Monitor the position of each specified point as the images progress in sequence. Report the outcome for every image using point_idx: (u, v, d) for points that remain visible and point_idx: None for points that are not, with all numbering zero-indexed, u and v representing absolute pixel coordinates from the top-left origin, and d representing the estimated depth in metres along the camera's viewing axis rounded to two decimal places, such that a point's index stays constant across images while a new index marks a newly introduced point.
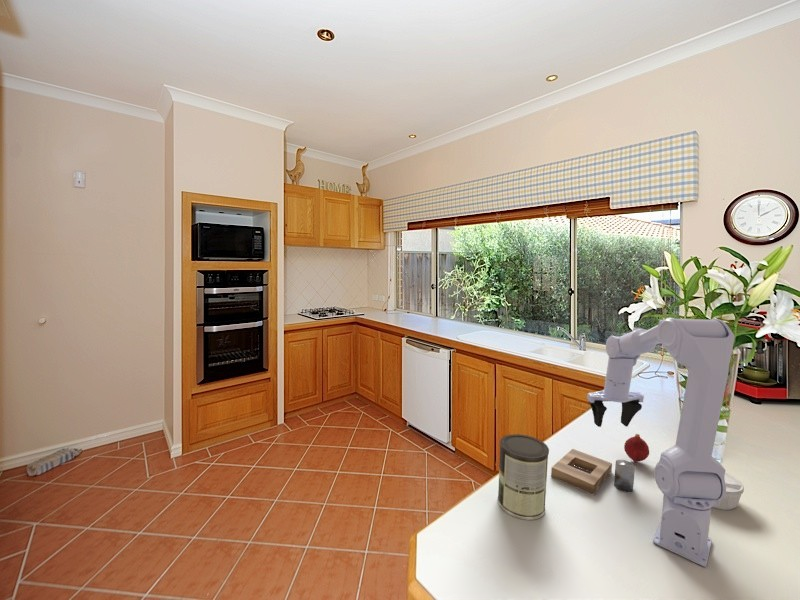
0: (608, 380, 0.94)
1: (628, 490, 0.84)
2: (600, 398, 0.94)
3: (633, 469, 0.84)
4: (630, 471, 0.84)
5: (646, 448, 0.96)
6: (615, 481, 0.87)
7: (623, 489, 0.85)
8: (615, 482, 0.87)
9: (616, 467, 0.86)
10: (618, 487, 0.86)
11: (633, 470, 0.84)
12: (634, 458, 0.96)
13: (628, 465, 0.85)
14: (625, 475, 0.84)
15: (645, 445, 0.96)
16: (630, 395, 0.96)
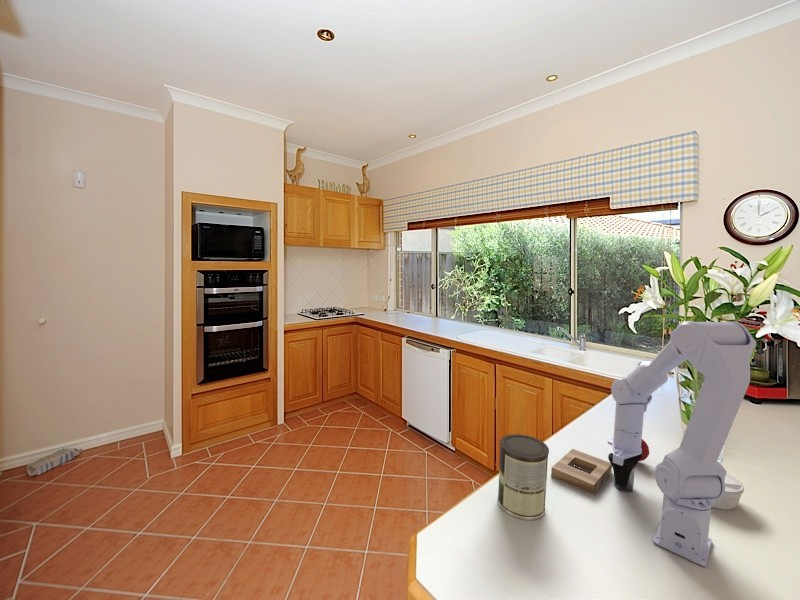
0: (626, 432, 0.83)
1: (628, 490, 0.84)
2: (627, 457, 0.81)
3: (633, 469, 0.84)
4: None
5: (646, 448, 0.96)
6: None
7: (623, 489, 0.85)
8: (615, 482, 0.87)
9: None
10: (618, 487, 0.86)
11: (633, 470, 0.84)
12: None
13: None
14: None
15: (645, 445, 0.96)
16: None
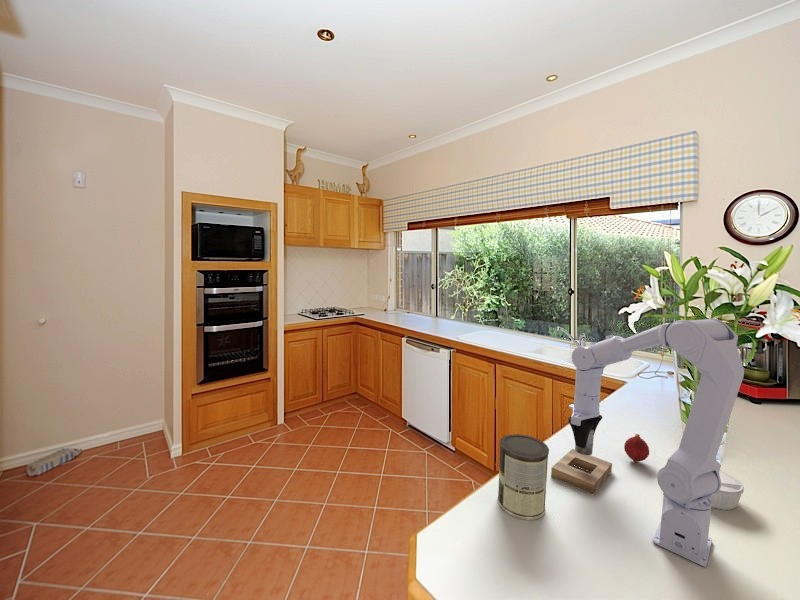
0: (584, 396, 0.88)
1: (587, 453, 0.89)
2: (584, 418, 0.86)
3: (592, 433, 0.89)
4: (589, 435, 0.89)
5: (646, 448, 0.96)
6: None
7: (583, 452, 0.89)
8: (576, 446, 0.91)
9: None
10: (578, 451, 0.90)
11: (592, 434, 0.89)
12: (634, 458, 0.96)
13: None
14: None
15: (645, 445, 0.96)
16: None
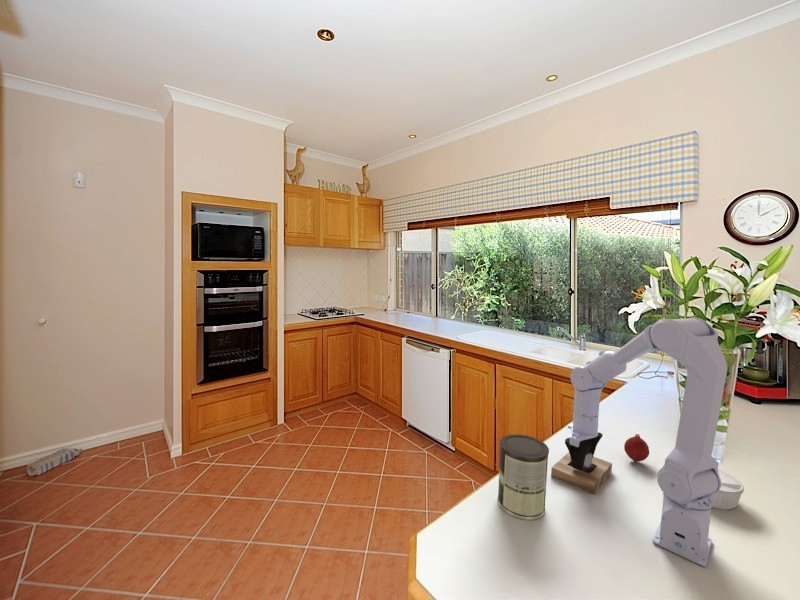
0: (583, 416, 0.88)
1: None
2: (583, 439, 0.86)
3: (590, 457, 0.89)
4: (588, 459, 0.89)
5: (646, 448, 0.96)
6: None
7: None
8: None
9: None
10: None
11: (590, 458, 0.89)
12: (634, 458, 0.96)
13: None
14: None
15: (645, 445, 0.96)
16: None
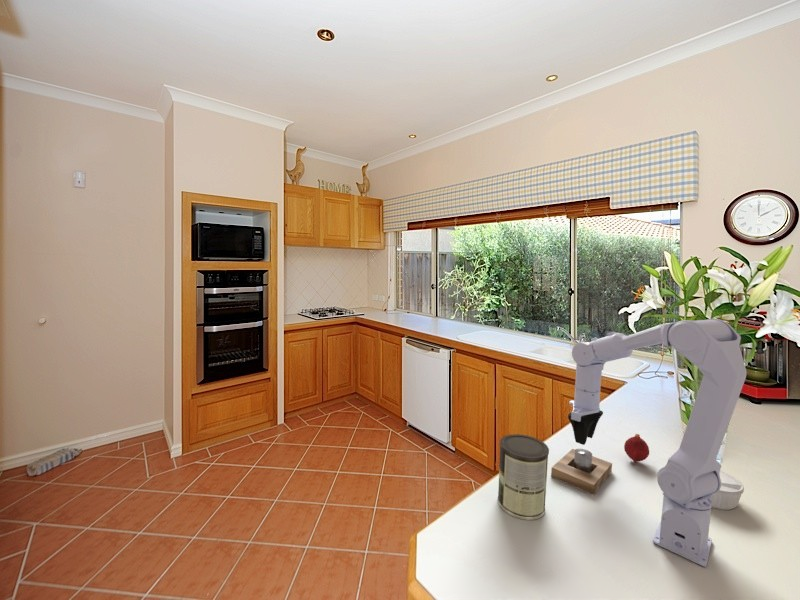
0: (584, 391, 0.87)
1: None
2: (585, 413, 0.86)
3: (590, 457, 0.89)
4: (588, 459, 0.89)
5: (646, 448, 0.96)
6: None
7: None
8: None
9: (575, 455, 0.91)
10: None
11: (590, 458, 0.89)
12: (634, 458, 0.96)
13: (586, 453, 0.91)
14: (583, 462, 0.89)
15: (645, 445, 0.96)
16: None
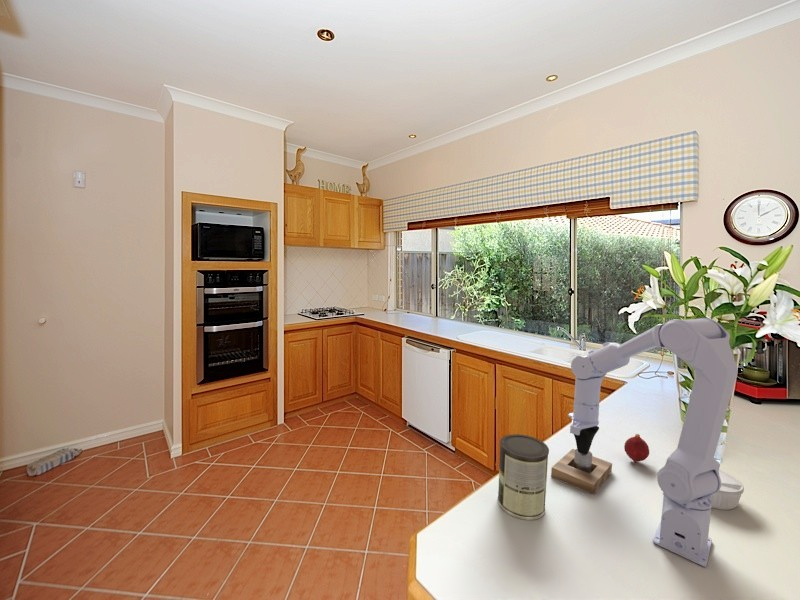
0: (583, 405, 0.88)
1: None
2: (584, 427, 0.86)
3: (590, 457, 0.89)
4: (588, 459, 0.89)
5: (646, 448, 0.96)
6: None
7: None
8: None
9: (575, 455, 0.91)
10: None
11: (590, 458, 0.89)
12: (634, 458, 0.96)
13: None
14: (583, 462, 0.89)
15: (645, 445, 0.96)
16: None
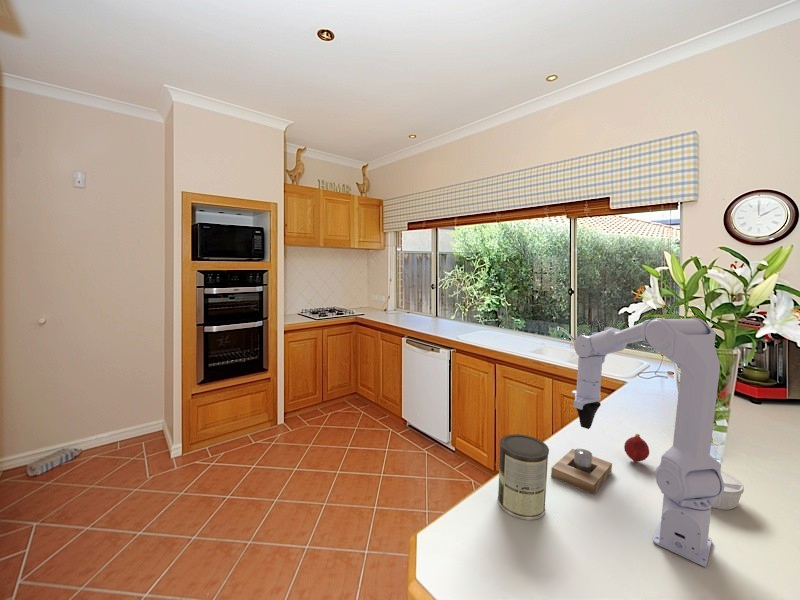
0: (586, 382, 0.94)
1: None
2: (586, 402, 0.92)
3: (590, 457, 0.89)
4: (588, 459, 0.89)
5: (646, 448, 0.96)
6: None
7: None
8: None
9: (575, 456, 0.91)
10: None
11: (590, 458, 0.89)
12: (634, 458, 0.96)
13: (585, 453, 0.91)
14: (583, 463, 0.89)
15: (645, 445, 0.96)
16: None
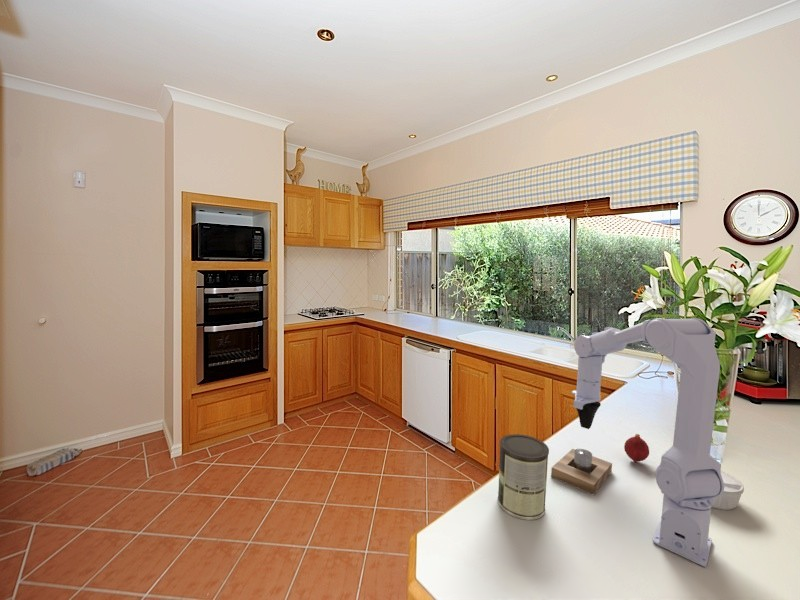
0: (586, 382, 0.94)
1: None
2: (586, 402, 0.92)
3: (590, 457, 0.89)
4: (588, 459, 0.89)
5: (646, 448, 0.96)
6: None
7: None
8: None
9: (575, 456, 0.91)
10: None
11: (590, 458, 0.89)
12: (634, 458, 0.96)
13: (585, 453, 0.90)
14: (583, 463, 0.89)
15: (645, 445, 0.96)
16: None
